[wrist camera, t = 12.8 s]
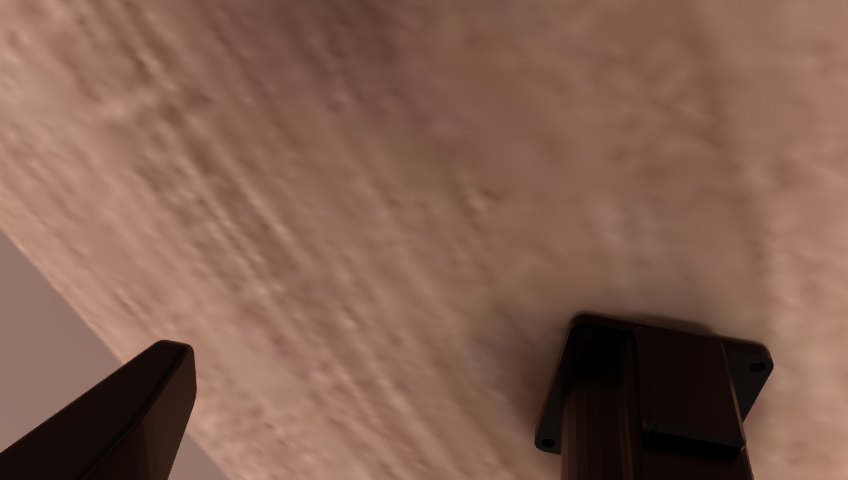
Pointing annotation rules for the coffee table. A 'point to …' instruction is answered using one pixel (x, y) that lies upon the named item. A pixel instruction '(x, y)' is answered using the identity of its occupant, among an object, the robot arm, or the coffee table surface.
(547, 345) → the coffee table surface
